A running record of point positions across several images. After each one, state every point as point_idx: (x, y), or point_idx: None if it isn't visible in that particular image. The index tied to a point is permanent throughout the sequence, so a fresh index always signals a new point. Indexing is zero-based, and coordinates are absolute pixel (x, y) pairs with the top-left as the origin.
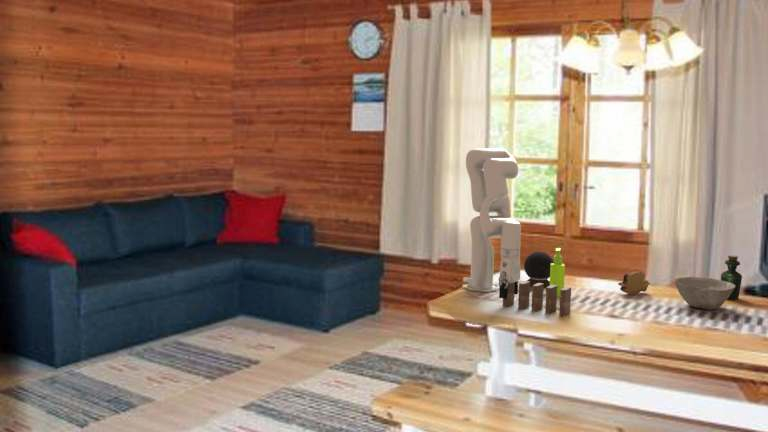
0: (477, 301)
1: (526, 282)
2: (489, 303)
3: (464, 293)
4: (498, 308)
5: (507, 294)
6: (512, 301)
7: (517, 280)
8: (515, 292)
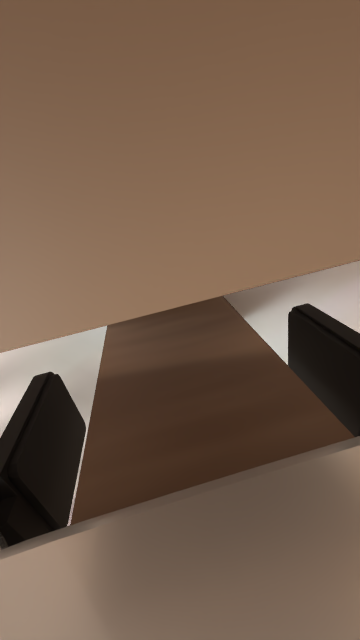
0: None
1: (60, 60)
2: None
3: None
4: (292, 307)
5: (266, 348)
6: (135, 328)
7: (113, 525)
8: (59, 392)
